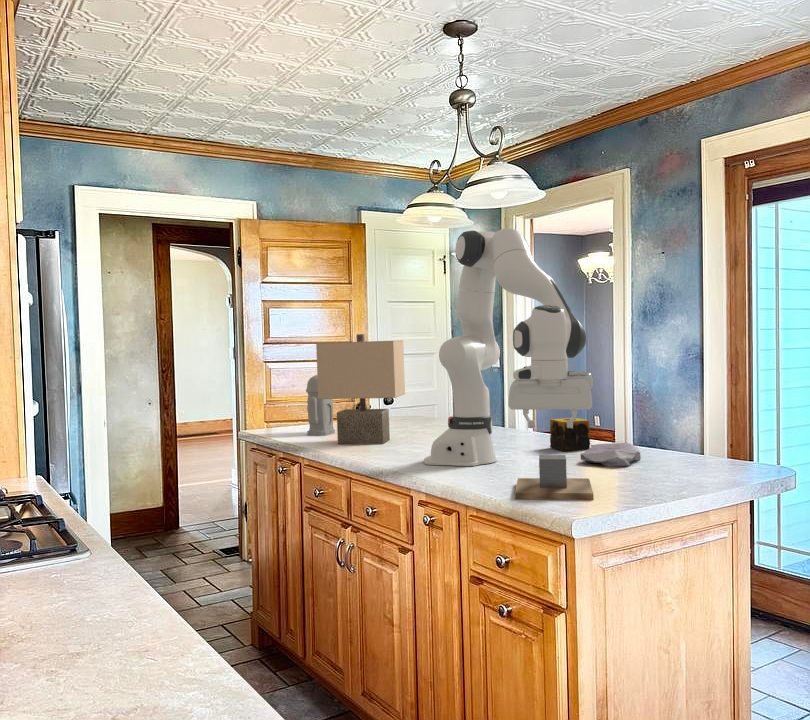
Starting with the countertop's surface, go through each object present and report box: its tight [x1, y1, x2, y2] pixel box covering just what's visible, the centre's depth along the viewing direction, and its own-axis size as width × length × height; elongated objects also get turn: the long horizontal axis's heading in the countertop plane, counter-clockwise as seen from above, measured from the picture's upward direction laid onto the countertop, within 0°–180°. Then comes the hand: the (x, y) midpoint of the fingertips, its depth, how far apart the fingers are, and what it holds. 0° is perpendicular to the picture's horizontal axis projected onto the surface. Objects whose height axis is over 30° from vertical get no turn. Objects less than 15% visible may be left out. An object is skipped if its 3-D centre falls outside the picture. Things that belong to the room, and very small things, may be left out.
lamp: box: [315, 333, 406, 445], centre depth 281 cm, size 29×18×41 cm, turn 79°
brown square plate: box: [514, 477, 595, 501], centre depth 182 cm, size 18×18×6 cm
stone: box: [580, 442, 642, 468], centre depth 222 cm, size 20×15×5 cm
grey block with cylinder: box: [538, 454, 568, 488], centre depth 183 cm, size 6×9×7 cm
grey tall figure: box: [305, 374, 336, 437], centre depth 311 cm, size 15×10×25 cm
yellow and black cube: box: [549, 417, 591, 453], centre depth 249 cm, size 10×10×10 cm
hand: (550, 427), depth 182 cm, fingers open, 8 cm apart
